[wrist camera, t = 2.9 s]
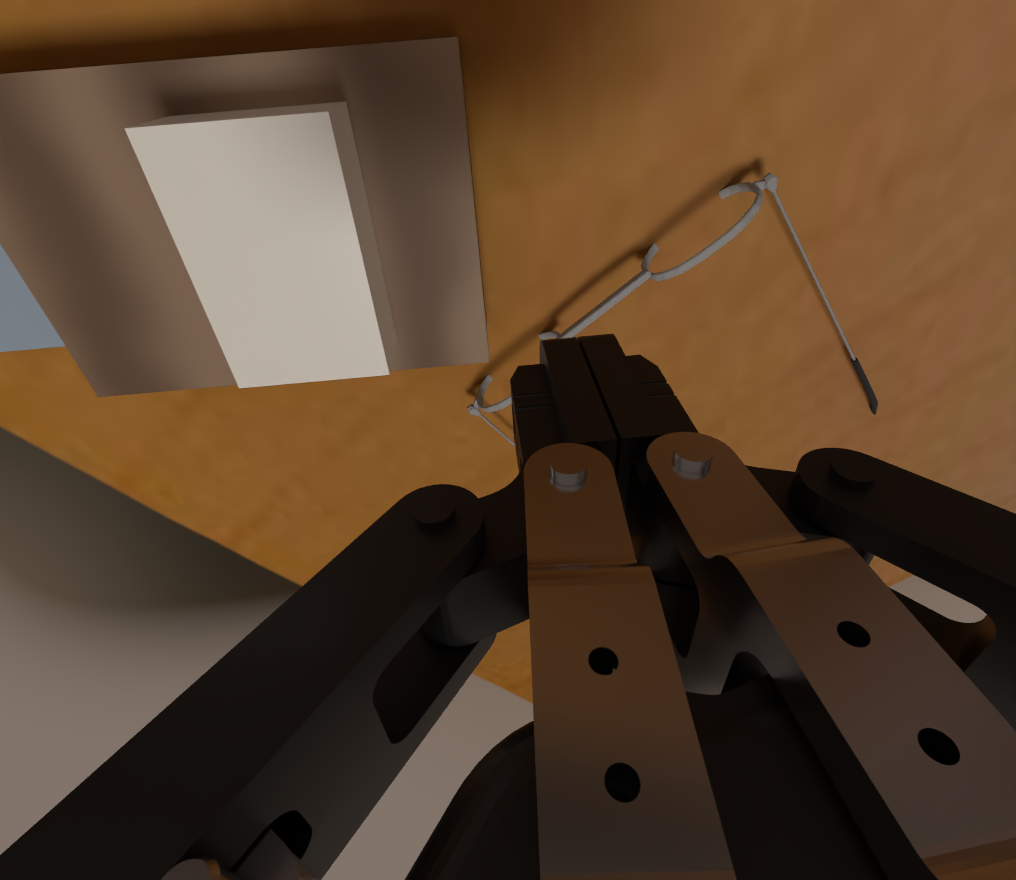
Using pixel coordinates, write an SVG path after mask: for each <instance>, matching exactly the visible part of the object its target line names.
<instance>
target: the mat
mask: <svg viewBox="0 0 1016 880" xmlns="http://www.w3.org/2000/svg"><path fill="white" fill-rule="evenodd" d="M61 346H65V344H64V343H63V341H62V340H61V338H60V337H59V335H58V333H57V332H56V330H55V329H54V327H53V326H52V324H51V322H50V321H49V319H48V318H47V316H46V315H45V313H44V312H43V310H42V308H41V307H40V305H39V304H38V302H37V301H36V299H35V297H34V296H33V294H32V293H31V291H30V290H29V288H28V287H27V285H26V283H25V282H24V280H23V279H22V277H21V276H20V274H19V273H18V271H17V269H16V268H15V266H14V265H13V263H12V262H11V260H10V258H9V257H8V255H7V254H6V252H5V251H4V249H3V248H2V246H1V244H0V352H5V351H16V350H27V349H39V348H50V347H61Z"/></svg>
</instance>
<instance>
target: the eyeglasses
mask: <svg viewBox="0 0 1016 880" xmlns="http://www.w3.org/2000/svg"><path fill="white" fill-rule="evenodd" d="M763 178H764V179H763V180H762V181H755V182H753V183H749V182H744V183H737V184H734V185H731V186H728V187H726V188H725V189H723V190H721V191H719V192H718V193H719V195H720V196H721V198H722V199H724V198H726V197H728V196H729V195H731V194H735V193H738V192H742V191H751V192H753V193H756V194H757V196H756V198H755V200H754V203H753V204H752V206H751V207H750V208H749V209H748V211H747V212H746V213H745V214H744V216H743V217H742V218H741V219H740V220H739V221H738V222H737V223H736V224H735V225H734V226H733V227H732V228H731V229H729V230H728V231H727V232H726V233H725V234H723V235H722V236H721V237H719V238H718V239H717V240H715V241H714V242H713V243H711V244H710V245H709V246H707V247H706V248H705V249H703V250H702V251H701V252H699V253H698V254H696V255H695V256H693V257H692V258H690V259H688V260H687V261H685V262H683V263H682V264H680V265H678V266H676V267H674V268H671V269H669V270H666V271H664V272H659V273H651V272H650V271H649V270H648V266H649V263H650V261H651V260H652V258H653V256H654V255H655V253H656V252H657V251H658V250H659V249H658V247H657V245H656V243H654V244H653V245H652V246H651V247H650V248H649V250H648V252H647V253H646V255H645V257H644V258H643V262H642V265H641V268H642V271H641V272H640V273H639V274H637V275H636V276H635V277H633V278H632V279H631V280H630V281H628V282H627V283H626V284H624V285H623V286H622V287H621V288H619V289H618V290H617V291H615V292H614V293H613V294H612V295H610V296H609V297H608V298H606V299H605V300H604V301H603V302H601V303H600V304H599V305H597V306H596V307H595V308H594V309H592V310H591V311H590V312H588V313H587V314H586V315H585V316H583V317H582V318H581V319H579V320H578V321H577V322H576V323H574V324H573V325H572V326H570V327H569V328H568V329H566V330H565V331H564V332H563V333H561V334H559V333H558V332H556V331H548V332H543V333H541V334H539V335H538V337H540V338H541V339H542V340H545V339H548V338H553V337H556V339H561V338H572V337H573V336H574V335H576V334H577V333H578V332H580V331H581V330H582V329H584V328H585V327H586V326H588V325H589V324H590V323H592V322H593V321H594V320H595V319H597V318H598V317H599V316H601V315H602V314H603V313H605V312H606V311H607V310H609V309H610V308H611V307H612V306H614V305H615V304H616V303H618V302H619V301H620V300H621V299H623V298H624V297H625V296H627V295H628V294H629V293H631V292H632V291H633V290H634V289H636V288H637V287H638V286H640V285H641V284H642V283H643V282H645V281H646V280H647V279H651V280H655V281H661V280H666V279H669V278H672V277H674V276H677V275H679V274H682V273H684V272H685V271H687V270H689V269H690V268H692V267H694V266H695V265H697V264H698V263H700V262H702V261H703V260H704V259H706V258H707V257H709V256H710V255H711V254H713V253H714V252H715V251H717V250H718V249H719V248H721V247H722V246H723V245H725V244H726V243H727V242H729V241H730V240H731V239H733V238H734V237H735V236H736V235H737V234H738V233H739V232H740V231H741V230H743V229H744V228H745V227H746V226H747V225H748V223H749V222H750V221H751V220H752V218H753V217H754V216H755V215H756V213H757V212H758V211H759V209H760V207H761V204H762V202H763V196H762V190H763V189H765V188H767V189H768V190H769V191H771V192H772V193H773V195H774V197H775V199H776V201H777V203H778V205H779V207H780V210H781V212H782V214H783V216H784V218H785V220H786V222H787V224H788V226H789V228H790V230H791V232H792V234H793V237H794V239H795V241H796V243H797V245H798V247H799V249H800V251H801V253H802V255H803V257H804V259H805V261H806V264H807V266H808V268H809V270H810V272H811V274H812V276H813V278H814V280H815V282H816V284H817V286H818V288H819V291H820V293H821V295H822V297H823V299H824V301H825V303H826V305H827V307H828V309H829V311H830V313H831V315H832V318H833V320H834V322H835V324H836V326H837V328H838V330H839V332H840V334H841V336H842V338H843V340H844V342H845V345H846V347H847V349H848V351H849V353H850V355H851V357H852V359H851V361H852V363H853V365H854V367H855V370H856V372H857V374H858V376H859V378H860V380H861V382H862V384H863V386H864V388H865V390H866V392H867V395H868V397H869V399H870V401H871V406H870V409H871V411H872V412H873V414H875V415H876V410H877V406H878V402H877V399H876V397H875V395H874V392H873V390H872V388H871V386H870V384H869V382H868V380H867V377H866V375H865V373H864V371H863V369H862V367H861V365H860V363H859V361H858V359H857V358H855V357H854V355H853V352H852V350H851V348H850V346H849V344H848V342H847V340H846V338H845V336H844V334H843V331H842V329H841V327H840V325H839V323H838V321H837V319H836V317H835V315H834V313H833V311H832V308H831V306H830V304H829V302H828V300H827V298H826V296H825V294H824V292H823V290H822V287H821V285H820V283H819V281H818V279H817V277H816V275H815V273H814V271H813V269H812V266H811V264H810V262H809V260H808V258H807V256H806V254H805V252H804V250H803V248H802V245H801V243H800V241H799V239H798V237H797V235H796V233H795V231H794V229H793V227H792V225H791V222H790V220H789V218H788V216H787V214H786V212H785V210H784V208H783V206H782V204H781V201H780V199H779V197H778V195H777V193H776V191H775V190H776V189H777V186H776V184H777V177H776V176H774V175H772V174H771V173H768V174H767V175H766V176H764V177H763ZM492 380H493V379H492V378H491V376H490V375H489V374H488V375H487V376H486V378H485V379H484V380H483V382H482V383H481V385H480V387H479V390H478V392H477V398H475V401H474V404H471V405H469V406H468V407H467V409H468V410H469V413H470V414H471V415H476V416H477V417H478V416H480V417H481V418H482V419H484V420H485V421H486V422H487V423H488V424H489V425H491V426H492V427H493V428H494V429H495V430H496V431H497V432H499V433H500V434H501V435H502V436H503V437H504V438H506V439H507V440H508V441H509V442H510V443H511V444H512V445H514V446H515V443H514V442H512V441H511V440H510V439H509V438H508V437H507V436H506V435H504V434H503V433H502V432H501V431H500V430H499V429H498V428H496V427H495V426H494V425H493V424H492V423H491V422H489V421H488V420H487V419H486V418H485V417H484V416H483V415H481V413H480V411H479V409H478V408H479V407H480V408H481V409H482V410H483V411H484V412H494V411H497V410H500V409H503V408H505V407H507V406H508V405H510V404H512V399H511V395H510V396H509V397H507V398H506V399H504V400H502V401H501V402H499V403H496V404H493V405H490V406H487V407H486V406H483V396H484V393H485V390H486V389H487V387H488V385H489V383H490V382H491V381H492Z"/></svg>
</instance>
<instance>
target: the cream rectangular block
mask: <svg viewBox="0 0 1016 880" xmlns="http://www.w3.org/2000/svg"><path fill="white" fill-rule="evenodd" d="M124 129H125V131H126V133H127V136H128V138H129V140H130V142H131V145H132V147H133V149H134V151H135V154H136V156H137V158H138V160H139V163H140V165H141V167H142V170H143V172H144V174H145V176H146V179H147V181H148V183H149V185H150V188H151V190H152V192H153V194H154V197H155V199H156V201H157V203H158V206H159V208H160V210H161V213H162V215H163V217H164V219H165V222H166V224H167V226H168V228H169V231H170V233H171V235H172V237H173V240H174V242H175V244H176V247H177V249H178V251H179V253H180V256H181V258H182V260H183V262H184V265H185V267H186V269H187V271H188V274H189V276H190V278H191V281H192V283H193V285H194V287H195V290H196V292H197V294H198V296H199V299H200V301H201V303H202V305H203V308H204V310H205V312H206V315H207V317H208V319H209V321H210V324H211V326H212V328H213V330H214V333H215V335H216V337H217V339H218V342H219V344H220V346H221V348H222V351H223V353H224V355H225V358H226V360H227V362H228V364H229V367H230V369H231V371H232V373H233V376H234V378H235V380H236V382H237V385H238V387H239V388H247V387H258V386H269V385H280V384H291V383H303V382H314V381H325V380H336V379H347V378H358V377H369V376H380V375H390V370H391V366H392V361H393V356H394V352H395V347H396V343H397V338H396V333H395V329H394V324H393V319H392V315H391V310H390V305H389V300H388V296H387V291H386V286H385V282H384V277H383V272H382V268H381V263H380V258H379V253H378V249H377V244H376V239H375V235H374V230H373V225H372V221H371V216H370V211H369V206H368V202H367V197H366V192H365V188H364V183H363V178H362V174H361V169H360V164H359V159H358V155H357V150H356V145H355V141H354V136H353V131H352V127H351V122H350V117H349V112H348V108H347V103H346V101H345V102H333V103H321V104H309V105H297V106H285V107H273V108H261V109H249V110H237V111H225V112H213V113H201V114H189V115H177V116H168V117H164V118H161V119H157V120H153V121H150V122H146V123H142V124H139V125H135V126H131V127H128V128H124Z"/></svg>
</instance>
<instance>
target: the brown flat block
mask: <svg viewBox="0 0 1016 880" xmlns="http://www.w3.org/2000/svg"><path fill="white" fill-rule="evenodd" d="M345 101H346V103H347V108H348V112H349V117H350V122H351V127H352V131H353V136H354V141H355V145H356V150H357V155H358V159H359V164H360V169H361V174H362V178H363V183H364V188H365V192H366V197H367V202H368V206H369V211H370V216H371V221H372V225H373V230H374V235H375V239H376V244H377V249H378V253H379V258H380V263H381V268H382V272H383V277H384V282H385V286H386V291H387V296H388V300H389V305H390V310H391V315H392V319H393V324H394V329H395V333H396V338H397V343H396V347H395V352H394V356H393V361H392V366H391V370H390V371H395V370H406V369H417V368H428V367H439V366H450V365H461V364H472V363H483V362H489V350H488V337H487V325H486V314H485V304H484V294H483V283H482V273H481V263H480V252H479V242H478V232H477V221H476V211H475V200H474V190H473V180H472V169H471V159H470V149H469V138H468V128H467V118H466V107H465V97H464V87H463V76H462V66H461V56H460V45H459V36H458V37H446V38H434V39H422V40H409V41H397V42H385V43H373V44H360V45H348V46H336V47H323V48H311V49H299V50H287V51H274V52H262V53H250V54H238V55H225V56H213V57H201V58H189V59H176V60H164V61H152V62H140V63H127V64H115V65H103V66H91V67H78V68H66V69H54V70H42V71H29V72H17V73H5V74H0V244H1V246H2V248H3V249H4V251H5V252H6V254H7V255H8V257H9V258H10V260H11V262H12V263H13V265H14V266H15V268H16V269H17V271H18V273H19V274H20V276H21V277H22V279H23V280H24V282H25V283H26V285H27V287H28V288H29V290H30V291H31V293H32V294H33V296H34V297H35V299H36V301H37V302H38V304H39V305H40V307H41V308H42V310H43V312H44V313H45V315H46V316H47V318H48V319H49V321H50V322H51V324H52V326H53V327H54V329H55V330H56V332H57V333H58V335H59V337H60V338H61V340H62V341H63V343H64V344H65V346H66V347H67V349H68V351H69V352H70V354H71V355H72V357H73V358H74V360H75V362H76V363H77V365H78V366H79V368H80V369H81V371H82V372H83V374H84V376H85V377H86V379H87V380H88V382H89V383H90V385H91V386H92V388H93V390H94V391H95V393H96V394H97V396H98V397H106V396H117V395H128V394H140V393H151V392H162V391H173V390H184V389H195V388H206V387H217V386H228V385H237V382H236V380H235V378H234V376H233V373H232V371H231V369H230V367H229V364H228V362H227V360H226V358H225V355H224V353H223V351H222V348H221V346H220V344H219V342H218V339H217V337H216V335H215V333H214V330H213V328H212V326H211V324H210V321H209V319H208V317H207V315H206V312H205V310H204V308H203V305H202V303H201V301H200V299H199V296H198V294H197V292H196V290H195V287H194V285H193V283H192V281H191V278H190V276H189V274H188V271H187V269H186V267H185V265H184V262H183V260H182V258H181V256H180V253H179V251H178V249H177V247H176V244H175V242H174V240H173V237H172V235H171V233H170V231H169V228H168V226H167V224H166V222H165V219H164V217H163V215H162V213H161V210H160V208H159V206H158V203H157V201H156V199H155V197H154V194H153V192H152V190H151V188H150V185H149V183H148V181H147V179H146V176H145V174H144V172H143V170H142V167H141V165H140V163H139V160H138V158H137V156H136V154H135V151H134V149H133V147H132V145H131V142H130V140H129V138H128V136H127V133H126V131H125V129H124V128H128V127H131V126H135V125H139V124H142V123H146V122H150V121H153V120H157V119H161V118H164V117H168V116H177V115H189V114H201V113H213V112H225V111H237V110H249V109H261V108H273V107H285V106H297V105H309V104H321V103H333V102H345Z"/></svg>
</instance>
